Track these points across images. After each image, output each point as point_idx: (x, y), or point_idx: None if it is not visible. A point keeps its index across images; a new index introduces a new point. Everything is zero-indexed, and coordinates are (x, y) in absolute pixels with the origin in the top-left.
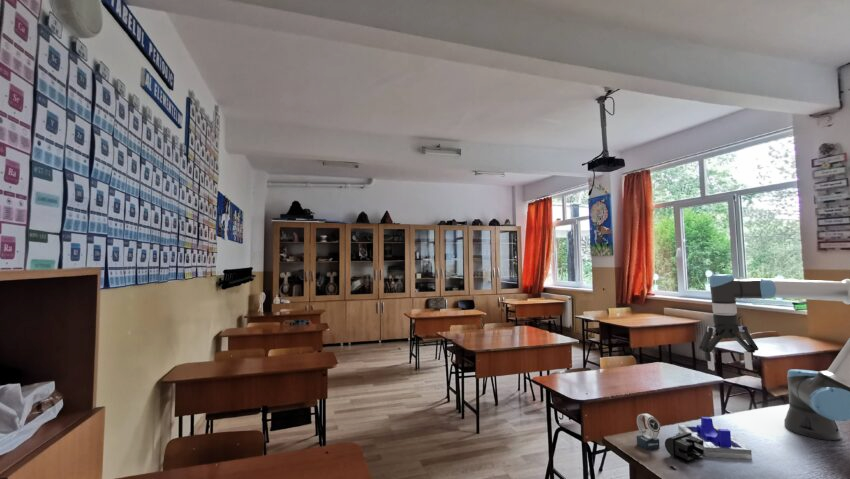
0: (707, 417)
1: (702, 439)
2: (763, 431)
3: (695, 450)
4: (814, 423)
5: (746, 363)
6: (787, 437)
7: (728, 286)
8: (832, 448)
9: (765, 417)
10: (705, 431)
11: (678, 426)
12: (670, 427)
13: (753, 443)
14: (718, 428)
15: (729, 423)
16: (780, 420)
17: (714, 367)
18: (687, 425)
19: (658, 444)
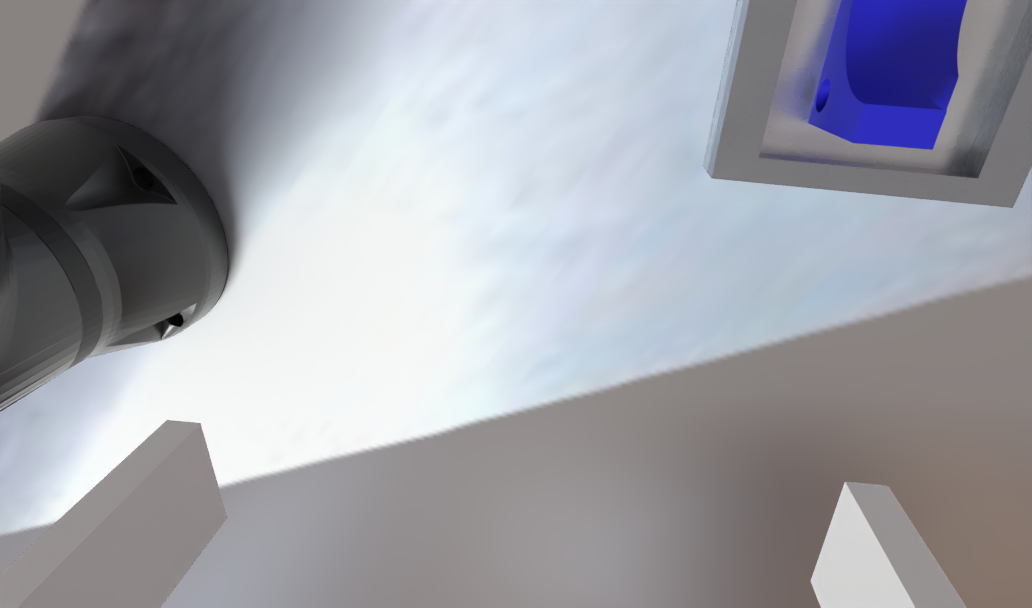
0: (881, 134)
1: (974, 5)
2: (377, 227)
3: None
4: (79, 163)
5: (159, 564)
6: (294, 148)
7: None
8: (134, 3)
9: (254, 398)
10: (934, 47)
11: (1005, 202)
12: (953, 278)
13: (562, 43)
14: (734, 148)
15: (500, 332)
16: (202, 362)
17: (871, 530)
18: (942, 197)
19: None
